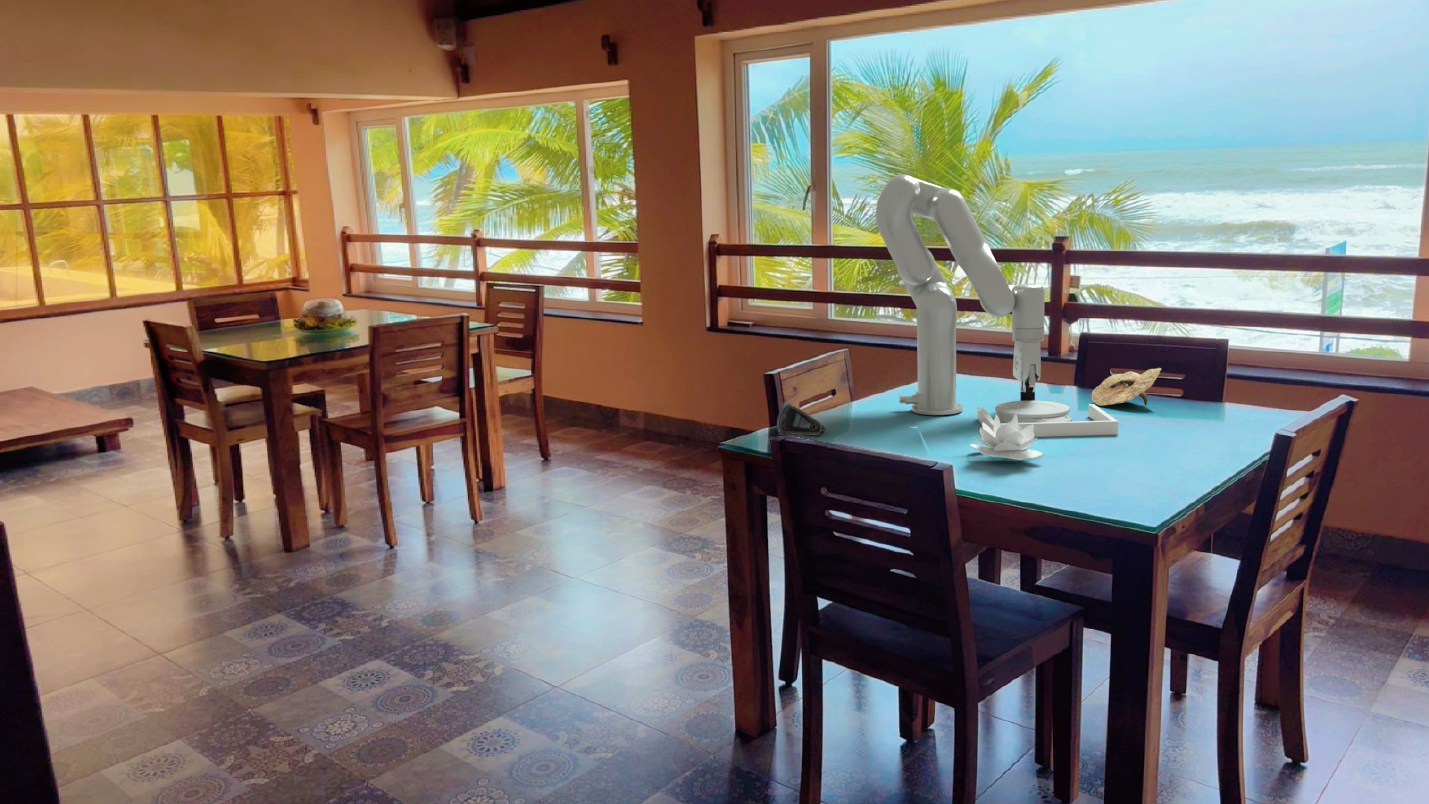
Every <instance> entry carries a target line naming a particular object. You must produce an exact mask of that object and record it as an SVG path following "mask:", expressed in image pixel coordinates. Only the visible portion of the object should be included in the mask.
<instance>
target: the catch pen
mask: <svg viewBox="0 0 1429 804" xmlns="http://www.w3.org/2000/svg"><path fill="white" fill-rule="evenodd" d="M1088 418H1090V419H1091V420H1085V421H1084V420H1080V421H1078V420H1075V421H1073V420H1072V422H1037V423H1018V424H1019V425H1020V426H1021V430H1022V429H1024V428H1026V427H1027V426H1030V425H1034V430H1033V432H1034V438H1038V437H1039V438H1040V437H1041V438H1042V437H1043V438H1044V437H1046V438H1047V437H1079V436H1081V437H1083V436H1114V435H1115V436H1118V435H1119V420H1117V419H1115V417H1113V416H1112V415H1110V414H1108V413H1107V412H1106V411H1104V410H1103V409H1102V408H1100V407H1099V406H1097V404H1095V403H1088ZM977 421H978V422H979V423H980V425H982V422H983V423H985V424H986V425H988V426H989V427H990V428H991V430H992V431H993V427H994V419H993V418H992V416H991V415H990V414H989V412H988V411H987V410H986V409H985V408H984V407H983V406H978V407H977ZM1000 424H1001V426H1002V425H1004V424H1007V423H1002V422H1000Z"/></svg>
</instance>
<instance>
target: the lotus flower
mask: <svg viewBox="0 0 1429 804" xmlns="http://www.w3.org/2000/svg"><path fill="white" fill-rule="evenodd" d="M993 420H994V427H993V431H992V430H991V428H990V427H989V426H988V425H986V424H985V423H983V422H982V424H981V427H979V434H980V436H981V439H982V440H981V439H979V438H977V437H975V436H972V437H973V439H975V440H976V441H977V442H979V443H981V444H982V445H980V444H974V443H973V444H972V443H971V444H969V446H970V447H971V448H972V449H975V450H977V451H979V452H980V454H981V455H983V456H988V457H998V458H1007V459H1011V460H1018V461H1024V460H1028V459H1029V460H1031V459H1036V458H1039V457H1041V456H1043V455H1044V453H1043V452H1041V451H1039V450H1034V449H1028V448H1030V447H1031V446H1032V445H1033V444H1034V443H1035V442H1036V441H1037V439H1038V437H1034V432H1033V430H1034V425H1030V426H1027V427H1026V428H1024V429H1022V430H1021V426H1020V425H1019V424H1018V418H1017V415H1016V414H1015V415H1014V417H1013V419H1012V421H1011V422H1008V423H1007V424H1004V425H1002V426H1001V422H1000V420H999V417H998V416H997V413H996V414H995V415H994V419H993Z"/></svg>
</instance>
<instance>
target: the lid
mask: <svg viewBox="0 0 1429 804" xmlns="http://www.w3.org/2000/svg"><path fill="white" fill-rule="evenodd" d="M994 410H995V412H996V415H997V416H998V417H999V420H1000V423H1008V422H1011V421H1012V419H1013V417H1014V415H1015V414H1016V415H1017V418H1018V423H1037V422H1073V419H1072V417H1070V416H1069V412H1071V407H1070V406H1068V405H1067V404H1064V403H1060V402H1055V401H1045V400H1035V401H1020V400H1016V401H1015V400H1014V401H1006V402H1002V403H999V404H997V405H996V406H995V407H994Z"/></svg>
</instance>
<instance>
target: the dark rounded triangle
mask: <svg viewBox="0 0 1429 804" xmlns="http://www.w3.org/2000/svg"><path fill="white" fill-rule="evenodd" d="M776 420H777V421H776V427H777V432H778V433H786V434H787V433H788V434H792V435H793V434H794V435H801V436H803V435H806V436H817V435H819V434H821V431H826V428H825V426H824V425H823V424H822V423H821V422H820V421H819V420H817V419H816V418H813V417H812V416H810V415H808V413H807V412H805V411H804V410H802V409H799V408H798V407H796V406H794V405H792V404H791V403H789V402H787V401H784V402H783V404H782V408H781V409H780V411H779V412H778V416H777V419H776Z"/></svg>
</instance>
